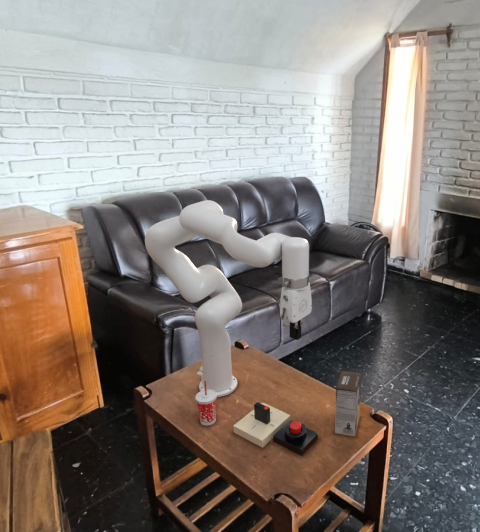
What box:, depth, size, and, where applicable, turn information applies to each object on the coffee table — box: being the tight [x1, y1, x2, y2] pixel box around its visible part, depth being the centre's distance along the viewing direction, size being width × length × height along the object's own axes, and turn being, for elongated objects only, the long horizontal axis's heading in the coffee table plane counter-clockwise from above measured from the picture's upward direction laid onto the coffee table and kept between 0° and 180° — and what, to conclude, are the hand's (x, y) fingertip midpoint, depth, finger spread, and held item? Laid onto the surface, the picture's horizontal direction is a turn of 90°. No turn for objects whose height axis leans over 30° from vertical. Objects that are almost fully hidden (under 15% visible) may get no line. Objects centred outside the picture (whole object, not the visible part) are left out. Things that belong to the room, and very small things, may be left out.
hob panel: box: [232, 402, 291, 448], centre depth 130 cm, size 11×13×3 cm
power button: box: [290, 421, 302, 434], centre depth 124 cm, size 3×3×2 cm
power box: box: [272, 419, 319, 457], centre depth 125 cm, size 10×8×4 cm
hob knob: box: [253, 401, 270, 424], centre depth 129 cm, size 5×2×5 cm, turn 58°
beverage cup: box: [195, 381, 218, 427], centre depth 130 cm, size 6×6×14 cm
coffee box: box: [334, 370, 363, 437], centre depth 130 cm, size 9×6×16 cm
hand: (295, 337), depth 131 cm, fingers closed
